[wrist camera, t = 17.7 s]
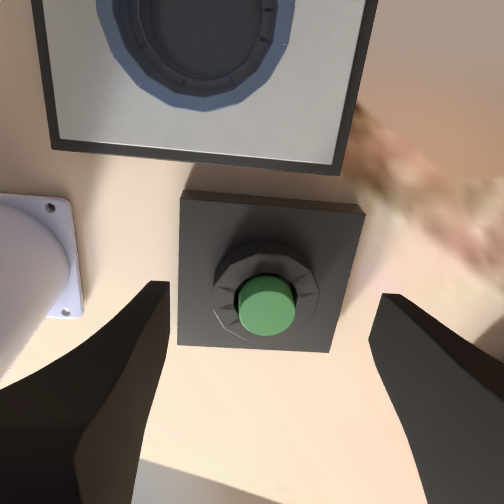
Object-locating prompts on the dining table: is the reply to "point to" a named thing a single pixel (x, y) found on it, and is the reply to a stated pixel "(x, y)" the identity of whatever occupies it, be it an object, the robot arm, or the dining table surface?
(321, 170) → the scale
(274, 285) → the button
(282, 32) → the cup
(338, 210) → the block
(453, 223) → the dining table surface
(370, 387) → the dining table surface
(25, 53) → the dining table surface
